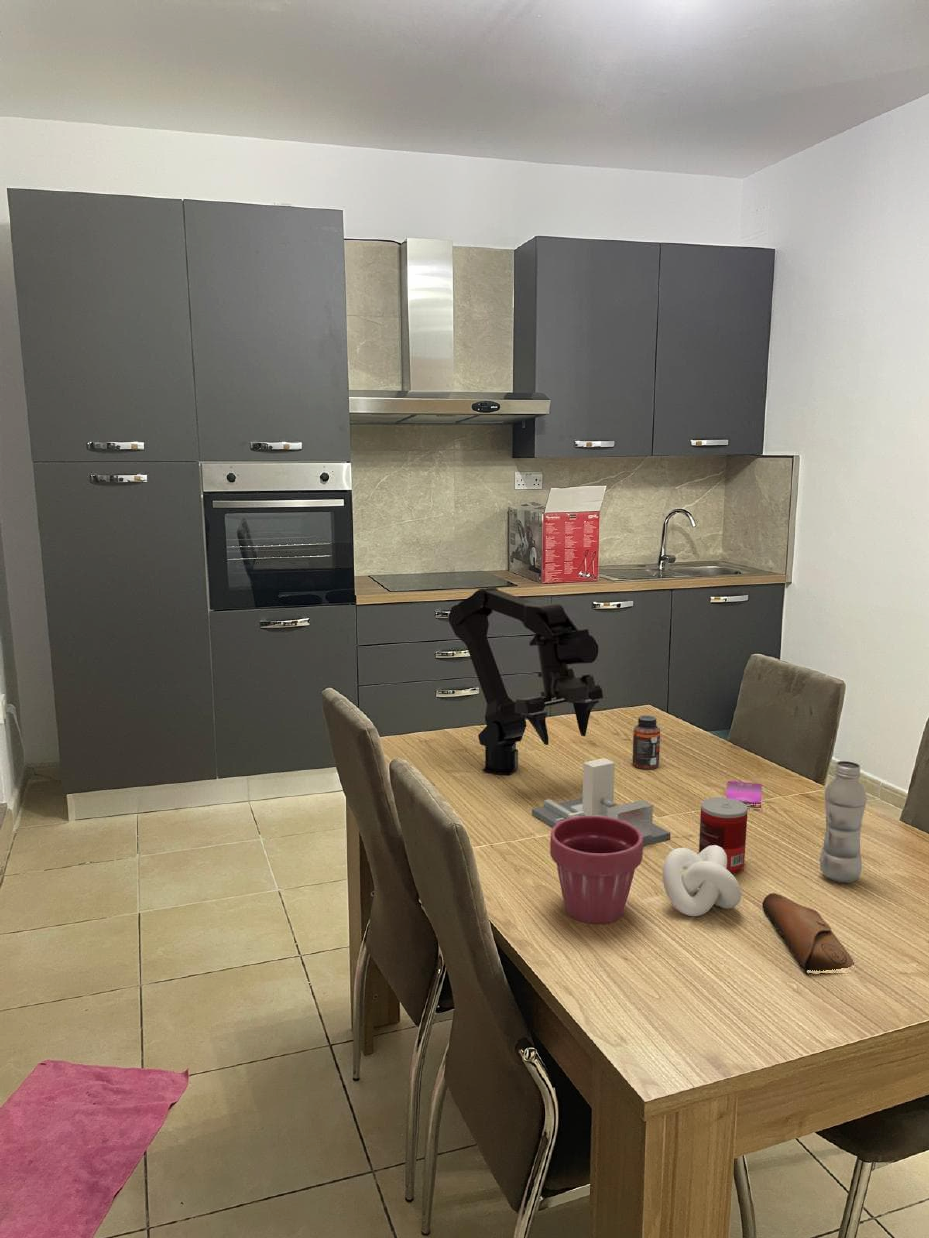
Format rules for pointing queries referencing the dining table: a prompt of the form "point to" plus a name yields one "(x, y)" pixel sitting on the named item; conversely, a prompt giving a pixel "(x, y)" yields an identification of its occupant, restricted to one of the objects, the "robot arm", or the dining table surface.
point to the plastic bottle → (843, 824)
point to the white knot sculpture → (699, 880)
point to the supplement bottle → (646, 743)
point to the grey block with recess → (635, 815)
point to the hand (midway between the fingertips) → (565, 740)
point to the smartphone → (745, 793)
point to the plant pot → (595, 865)
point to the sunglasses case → (806, 934)
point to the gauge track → (560, 811)
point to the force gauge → (596, 789)
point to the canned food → (724, 829)
